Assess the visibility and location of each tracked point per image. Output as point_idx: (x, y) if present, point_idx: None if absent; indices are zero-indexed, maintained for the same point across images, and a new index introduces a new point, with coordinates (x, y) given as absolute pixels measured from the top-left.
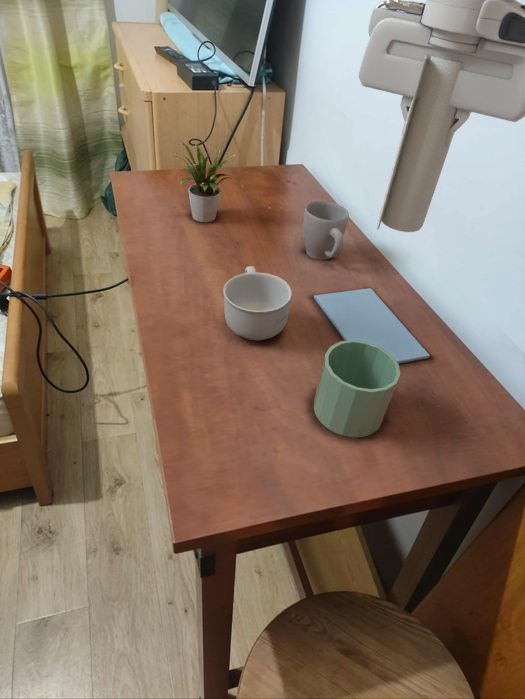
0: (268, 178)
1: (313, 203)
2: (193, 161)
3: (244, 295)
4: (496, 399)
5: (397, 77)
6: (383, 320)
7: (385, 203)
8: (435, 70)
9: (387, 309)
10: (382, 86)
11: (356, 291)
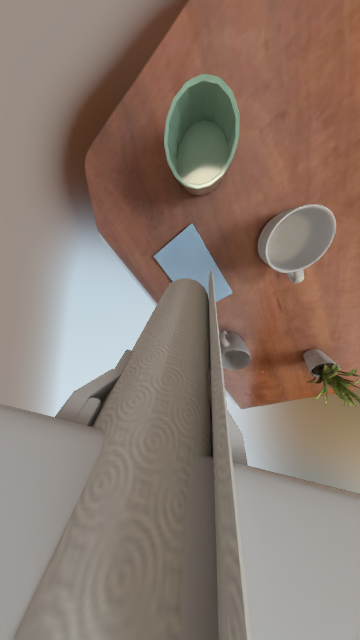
0: (262, 396)
1: (244, 366)
2: (347, 390)
3: (296, 259)
4: (109, 229)
5: (312, 565)
6: None
7: (211, 282)
8: None
9: None
10: (333, 503)
11: None
